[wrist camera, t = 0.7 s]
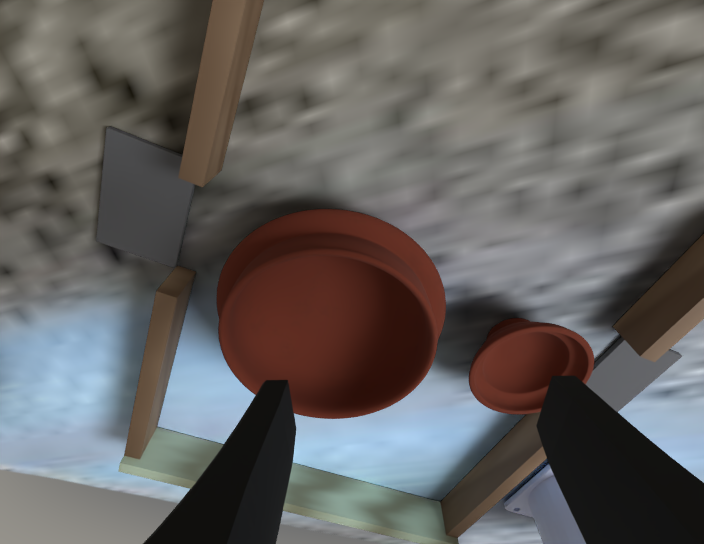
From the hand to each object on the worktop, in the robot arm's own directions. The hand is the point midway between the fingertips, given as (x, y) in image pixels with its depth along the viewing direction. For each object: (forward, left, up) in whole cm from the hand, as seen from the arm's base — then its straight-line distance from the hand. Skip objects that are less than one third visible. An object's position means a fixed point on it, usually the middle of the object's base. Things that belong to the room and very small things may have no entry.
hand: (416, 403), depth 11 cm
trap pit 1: (+12, +3, -10) cm, 16 cm away
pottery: (-3, +4, -11) cm, 12 cm away
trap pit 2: (-17, +3, -10) cm, 20 cm away
